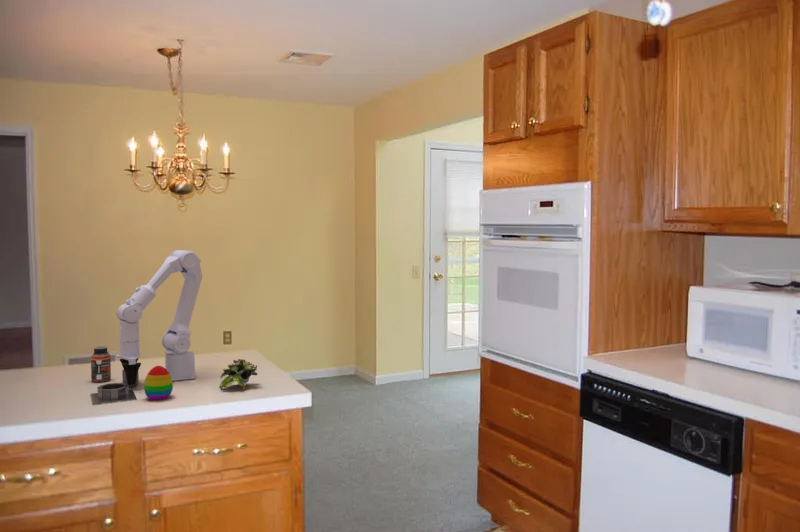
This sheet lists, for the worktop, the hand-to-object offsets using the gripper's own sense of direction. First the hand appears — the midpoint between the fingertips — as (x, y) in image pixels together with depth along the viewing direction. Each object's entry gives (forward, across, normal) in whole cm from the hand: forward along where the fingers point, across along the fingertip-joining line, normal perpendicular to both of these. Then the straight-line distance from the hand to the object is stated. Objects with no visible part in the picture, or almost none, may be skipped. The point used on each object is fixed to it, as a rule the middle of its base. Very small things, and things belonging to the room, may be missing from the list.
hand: (130, 381), depth 205 cm
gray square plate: (+1, +11, -6) cm, 13 cm away
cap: (+2, 0, 0) cm, 2 cm away
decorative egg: (+2, +18, +6) cm, 19 cm away
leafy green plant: (+2, +18, +31) cm, 36 cm away
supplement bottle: (+2, -12, -8) cm, 15 cm away
